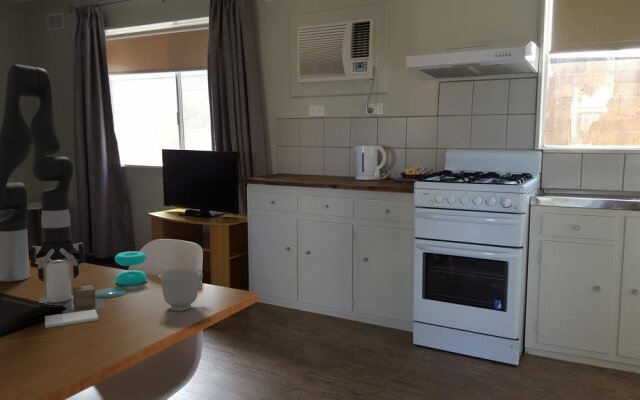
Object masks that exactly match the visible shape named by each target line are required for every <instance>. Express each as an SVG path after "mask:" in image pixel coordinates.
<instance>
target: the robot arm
mask: <svg viewBox="0 0 640 400" xmlns="http://www.w3.org/2000/svg"><path fill="white" fill-rule="evenodd" d="M5 85H6V87H5V97H4V99H5V100H4V110H3V115H2V121H1V128H0V211H10V210H11V211H12V212H11V213H10V214H8V216H6V217H4V218H2V219H0V282H6V283H7V282H9V283H10V282H18V281H19V282H20V281H23V280H26V279H28V278H30V277H31V275H30V268H36V269H37V271H38V272H37V273H38V280H40V281H41V282H45V281H46V276H45V265H46V264H47V261H48V260H56V259H68V262H69V263H72V266H73V267H72V269H73V279H77V277H78V276H79V275H80V274H79V273H80V271H79V269H80V268H79V265H82V264H84V263H85V261H86V257H85V249H84V243H83V242H81V241H80V242H78V243H73V241H72V231H71V229H72V228H71V225H72V224H71V214H70V208H69V207H70V206H69V193H70V186H71V183H72V178H73V176H74V164H73V162H72V160H71V159H70V158H69V157H67V156H53V155H55V154H57V153H58V152H59V151H60V150H61V147H62V146H61V142H60V138H59V134H58V131H57V127H56V122H55V112H54V102H53V99H54V98H53V90H52V81H51V78H50V75H49V73H48V71H47V70H46V69H44V68H41V67H37V66H29V65H23V64H17V63H16V64H12V65H10V67H9V68H8V72H7V76H6V84H5ZM21 97H31V98H38V100H39V106H38V109H37V111H36V112H35V114H34V115H33V117H32V119H31V121H30V124H29V122H28V121H27V118H26V117H25V116H24V113H23V111H22V109H21V104H20V100H21V99H20V98H21ZM32 146H33V161H32V162H33V163H32V174H33V177H34V179H36V180H38V181H39V182H58V183H57V185H56V186H55V187H53V188H48V189H45V190H43V191H42V192H41V194H40V198H41V200H40V201H41V202H40V203H41V222H40V225H41V236H42V245H41V246H38V245H32V246H31V247H30V253H29V241H28V239H29V237H28V219H29V217H28V216H29V215H28V206H29V205H28V203H29V202H28V200H29V199H28V191H27V188H26V185H25V184H24V183H23V182H17V181H16V182H15V181H14V182H8V181H9V180H10V177H11V176H12V174H13V173H14V172H15V171H16V170H17V169H18V168H19V167H20V166H21V165H22V164H23V163H24V162H25V161H26V160H27V158H29V156H30V154H31V149H32ZM51 155H52V156H51ZM73 249H75V250H76V252H78V255H79V259H77V258H76V257H74V255H73V254H72V253H71V252H72V250H73ZM40 251H42V253H43V254H44V257H43V258H42V260H41V261H39V262H37V255H38V254H39V253H40ZM29 254H30V256H29ZM29 257H30V258H29Z"/></svg>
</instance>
